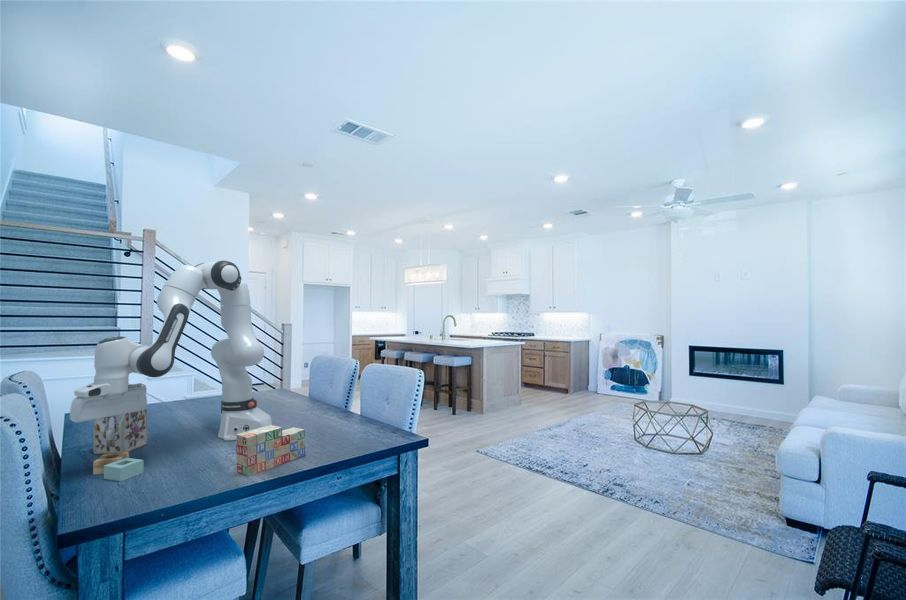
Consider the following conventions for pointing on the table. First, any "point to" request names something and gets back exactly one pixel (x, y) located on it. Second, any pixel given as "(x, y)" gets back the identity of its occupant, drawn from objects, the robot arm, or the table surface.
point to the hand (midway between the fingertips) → (110, 429)
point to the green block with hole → (123, 469)
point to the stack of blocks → (268, 448)
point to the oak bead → (107, 461)
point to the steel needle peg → (110, 431)
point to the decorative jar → (122, 434)
